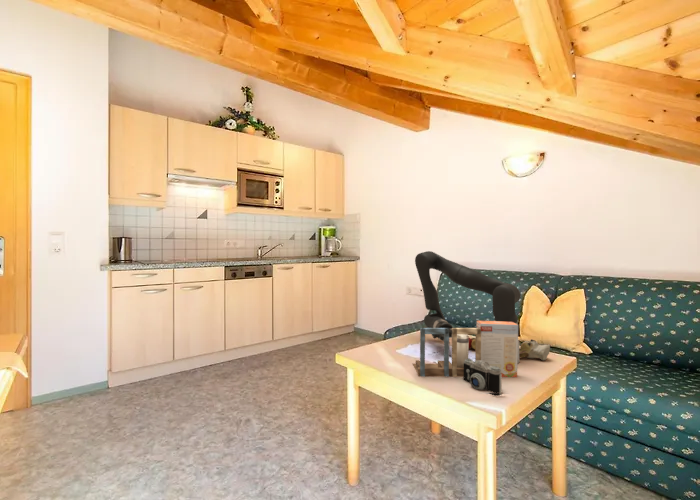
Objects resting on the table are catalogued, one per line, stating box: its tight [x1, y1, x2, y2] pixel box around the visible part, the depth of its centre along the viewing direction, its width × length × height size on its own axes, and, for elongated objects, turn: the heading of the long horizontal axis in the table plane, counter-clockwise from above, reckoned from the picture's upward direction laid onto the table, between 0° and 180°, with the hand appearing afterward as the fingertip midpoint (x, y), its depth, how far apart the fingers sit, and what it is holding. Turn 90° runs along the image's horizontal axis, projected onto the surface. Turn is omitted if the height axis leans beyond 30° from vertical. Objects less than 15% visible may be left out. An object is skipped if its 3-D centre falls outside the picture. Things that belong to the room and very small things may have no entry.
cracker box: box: [476, 320, 519, 378], centre depth 131 cm, size 14×6×21 cm, turn 85°
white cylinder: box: [457, 334, 470, 368], centre depth 134 cm, size 5×5×14 cm
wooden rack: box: [412, 327, 481, 378], centre depth 135 cm, size 24×14×19 cm, turn 90°
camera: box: [462, 357, 503, 397], centre depth 120 cm, size 15×7×10 cm, turn 32°
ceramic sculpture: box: [519, 339, 551, 361], centre depth 152 cm, size 11×9×15 cm
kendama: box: [469, 337, 476, 350], centre depth 165 cm, size 8×6×18 cm
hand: (453, 338), depth 144 cm, fingers open, 8 cm apart
